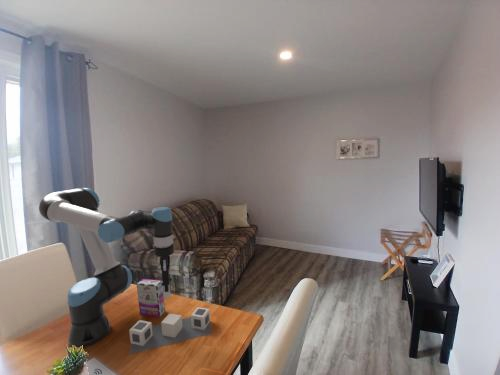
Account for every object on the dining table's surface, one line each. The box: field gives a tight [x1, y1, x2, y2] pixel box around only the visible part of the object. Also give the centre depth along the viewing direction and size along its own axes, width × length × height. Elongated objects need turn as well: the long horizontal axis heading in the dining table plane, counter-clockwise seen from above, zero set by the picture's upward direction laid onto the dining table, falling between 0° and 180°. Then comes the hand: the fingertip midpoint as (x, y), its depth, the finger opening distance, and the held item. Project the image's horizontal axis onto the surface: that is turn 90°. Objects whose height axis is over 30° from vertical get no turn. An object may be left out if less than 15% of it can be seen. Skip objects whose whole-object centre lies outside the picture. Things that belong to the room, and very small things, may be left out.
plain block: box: [160, 312, 183, 338], centre depth 106 cm, size 6×6×6 cm
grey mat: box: [129, 316, 213, 355], centre depth 106 cm, size 32×14×1 cm, turn 108°
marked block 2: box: [190, 306, 211, 330], centre depth 109 cm, size 6×6×6 cm
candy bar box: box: [136, 278, 166, 318], centre depth 118 cm, size 11×5×16 cm, turn 76°
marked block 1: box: [129, 319, 153, 346], centre depth 102 cm, size 6×6×6 cm
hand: (167, 296), depth 106 cm, fingers closed
